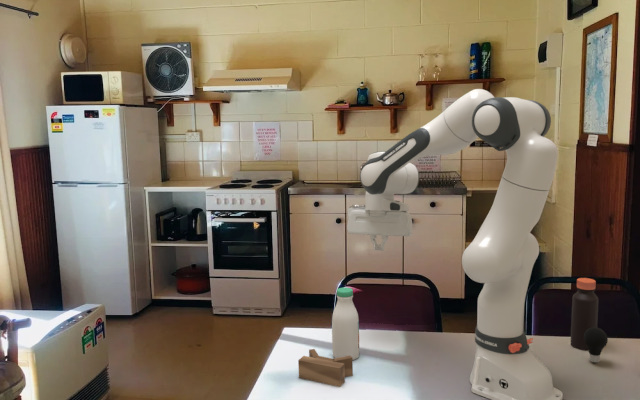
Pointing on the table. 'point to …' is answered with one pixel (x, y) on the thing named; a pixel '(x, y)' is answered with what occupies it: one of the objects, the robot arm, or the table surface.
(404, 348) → the table surface
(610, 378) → the table surface
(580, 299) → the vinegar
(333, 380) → the cradle
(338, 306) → the milk bottle
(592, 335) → the light bulb
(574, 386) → the table surface
